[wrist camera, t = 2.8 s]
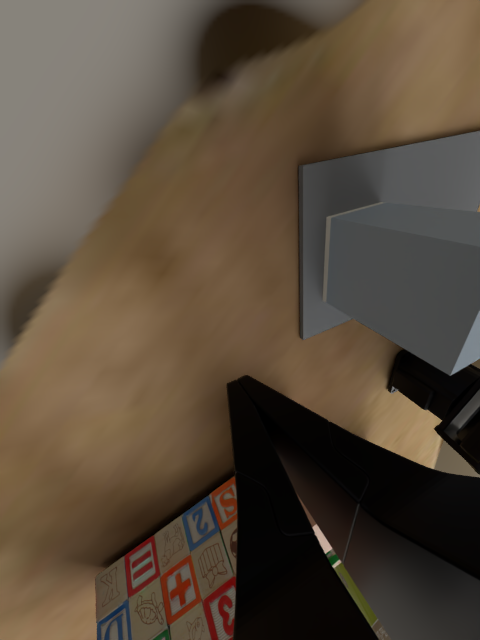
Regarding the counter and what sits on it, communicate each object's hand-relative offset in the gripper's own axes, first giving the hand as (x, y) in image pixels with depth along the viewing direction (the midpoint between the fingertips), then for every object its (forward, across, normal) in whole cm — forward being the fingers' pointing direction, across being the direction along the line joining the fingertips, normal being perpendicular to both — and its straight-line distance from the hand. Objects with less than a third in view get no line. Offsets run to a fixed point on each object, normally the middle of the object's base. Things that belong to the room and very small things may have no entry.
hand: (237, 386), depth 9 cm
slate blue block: (+7, -12, 0) cm, 14 cm away
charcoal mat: (+7, -17, 0) cm, 18 cm away
